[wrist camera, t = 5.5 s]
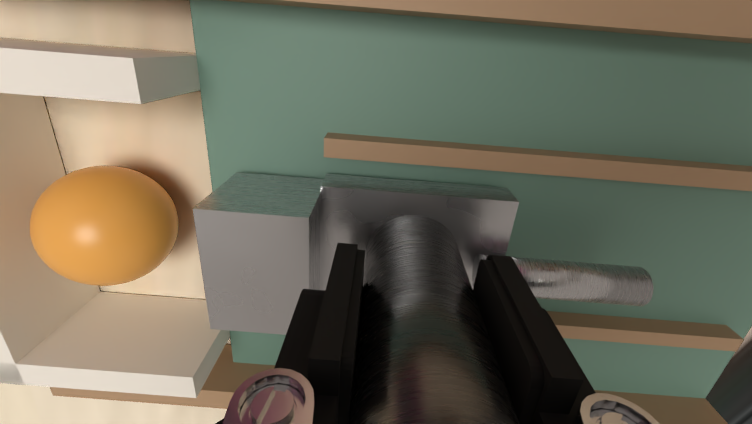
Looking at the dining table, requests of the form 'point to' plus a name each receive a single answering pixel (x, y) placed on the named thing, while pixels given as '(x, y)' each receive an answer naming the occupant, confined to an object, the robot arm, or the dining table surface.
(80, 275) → the ball
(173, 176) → the dining table surface
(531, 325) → the robot arm
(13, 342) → the pitch
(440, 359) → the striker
